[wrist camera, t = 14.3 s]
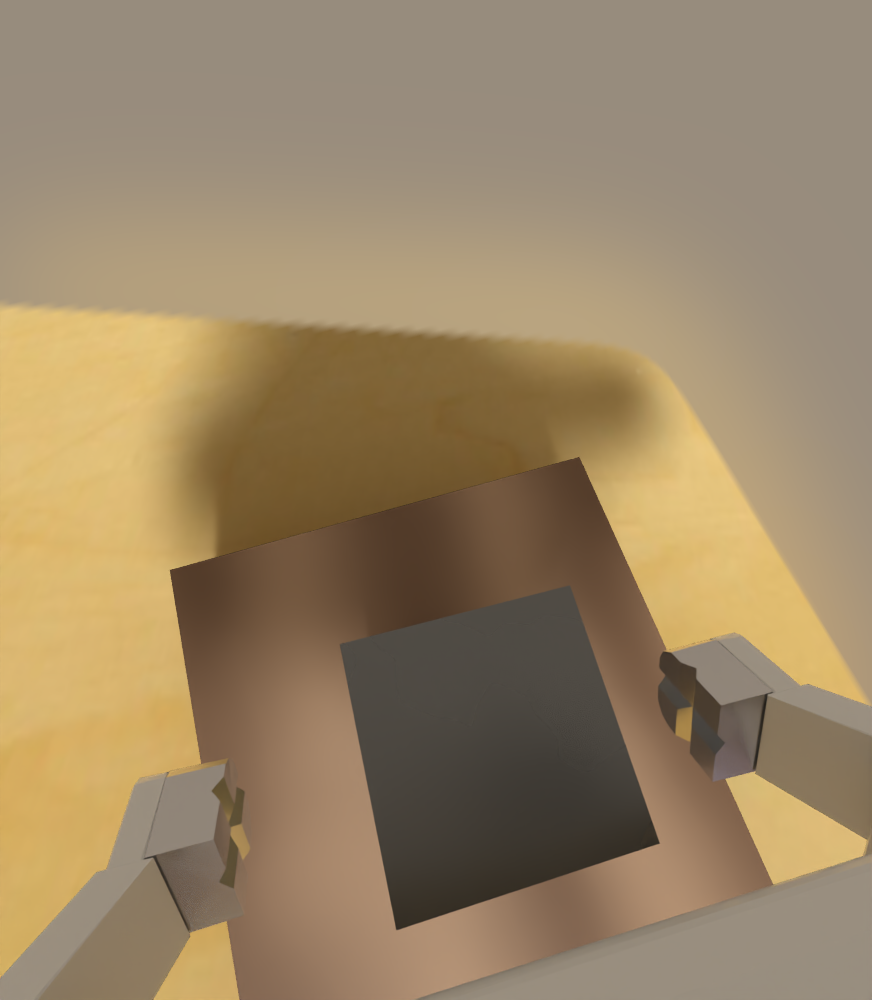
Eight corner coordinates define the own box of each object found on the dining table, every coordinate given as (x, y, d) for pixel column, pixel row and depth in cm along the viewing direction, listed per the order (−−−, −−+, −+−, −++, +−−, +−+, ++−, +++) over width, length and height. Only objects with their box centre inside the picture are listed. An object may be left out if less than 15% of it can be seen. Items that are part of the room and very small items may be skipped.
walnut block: (297, 1035, 18) (262, 1141, 13) (216, 603, 22) (170, 570, 18) (694, 866, 20) (782, 906, 16) (545, 508, 25) (578, 457, 20)
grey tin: (399, 832, 16) (396, 930, 8) (367, 679, 17) (339, 643, 10) (542, 789, 16) (659, 843, 9) (499, 644, 18) (570, 585, 10)
